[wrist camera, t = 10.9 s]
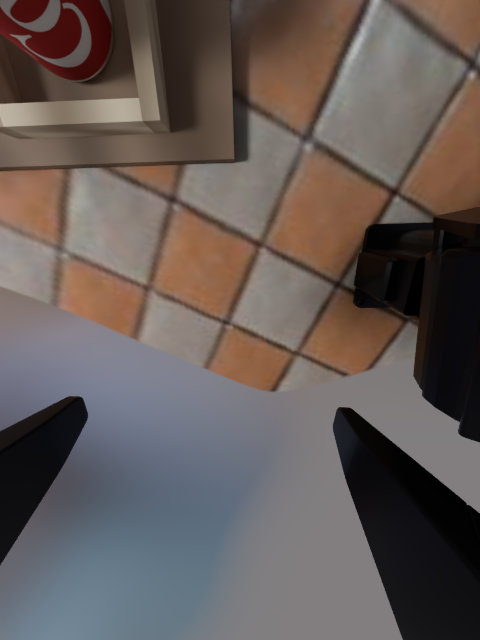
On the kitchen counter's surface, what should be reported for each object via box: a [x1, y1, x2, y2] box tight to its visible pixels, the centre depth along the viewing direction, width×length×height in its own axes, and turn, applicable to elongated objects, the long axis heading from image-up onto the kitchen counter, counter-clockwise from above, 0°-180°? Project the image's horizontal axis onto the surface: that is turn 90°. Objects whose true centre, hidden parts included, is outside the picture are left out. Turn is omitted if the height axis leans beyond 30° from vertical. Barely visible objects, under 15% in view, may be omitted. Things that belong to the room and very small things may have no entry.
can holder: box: [0, 0, 235, 171], centre depth 12 cm, size 18×13×3 cm
